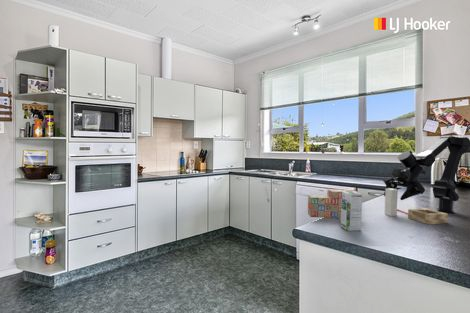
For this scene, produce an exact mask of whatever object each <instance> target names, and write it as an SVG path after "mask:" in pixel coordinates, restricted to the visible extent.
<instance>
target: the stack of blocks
mask: <svg viewBox="0 0 470 313" xmlns="http://www.w3.org/2000/svg"><path fill="white" fill-rule="evenodd" d="M326 191H327V194H326V195H321V194H318V195H317V194H314V195H313V194H308V196H307V214H308V215H309V217H310V218H322V219H323V218H325V219H326V218H328V219H330V218H331V219H341V204H342V191H354V192H357V193H360V192H359V191H356V190H354V189H341V188H340V189H332V188H331V189H330V188H329V189H327V190H326Z"/></svg>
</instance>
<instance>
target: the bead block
mask: <svg viewBox="0 0 470 313" xmlns="http://www.w3.org/2000/svg"><path fill="white" fill-rule="evenodd" d="M407 213H408V214H407V219H410V220H413V221H416V222H419V223H424V224H427V225H439V224H448V216H449V214H448V212H441V211H438V210H434V209H429V208H425V207H424V208H410V209H409V208H408V211H407Z"/></svg>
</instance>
